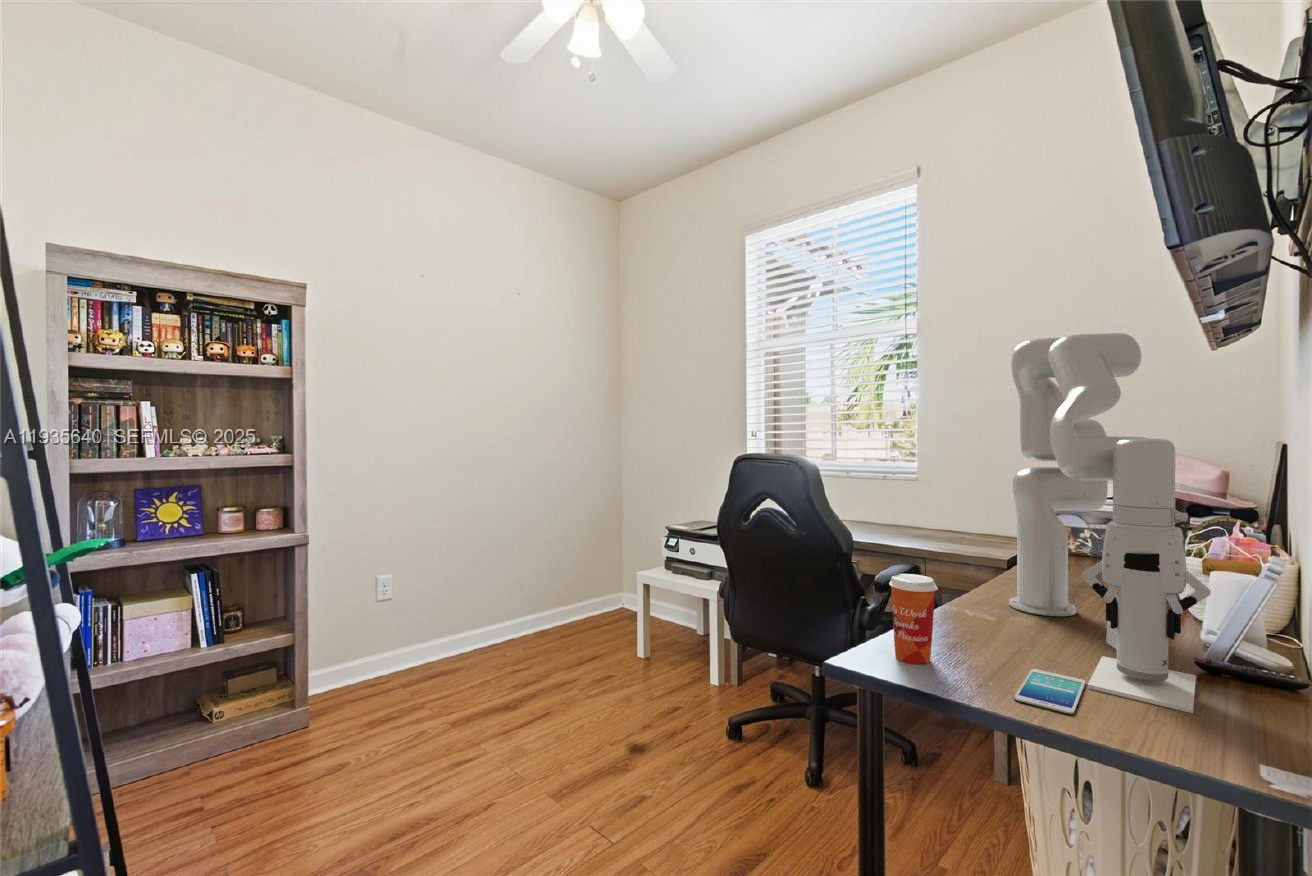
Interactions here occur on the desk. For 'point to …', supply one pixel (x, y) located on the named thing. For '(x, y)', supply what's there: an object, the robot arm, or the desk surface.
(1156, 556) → the travel mug
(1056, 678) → the smartphone
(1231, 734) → the desk surface
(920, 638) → the paper cup
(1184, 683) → the off-white mat
